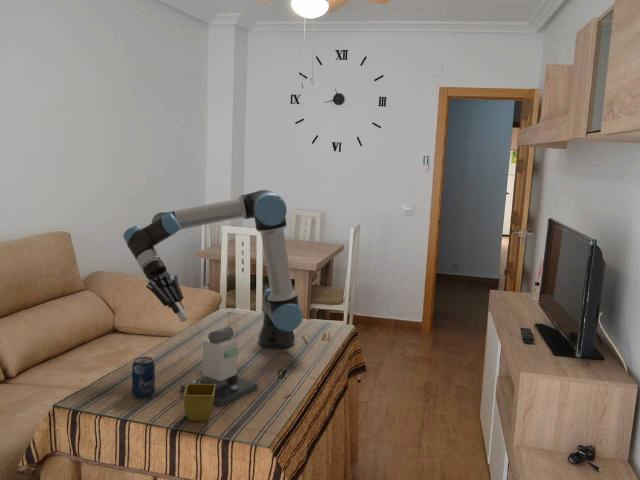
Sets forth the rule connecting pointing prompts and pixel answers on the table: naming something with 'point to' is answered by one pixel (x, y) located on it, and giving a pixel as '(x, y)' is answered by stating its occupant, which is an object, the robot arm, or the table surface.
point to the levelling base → (226, 388)
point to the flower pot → (199, 401)
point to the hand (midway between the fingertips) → (184, 319)
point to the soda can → (143, 377)
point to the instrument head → (220, 355)
